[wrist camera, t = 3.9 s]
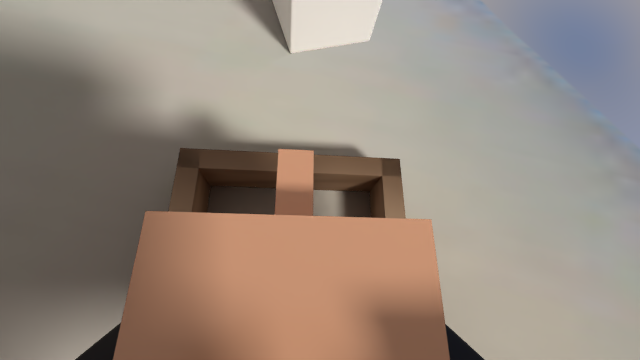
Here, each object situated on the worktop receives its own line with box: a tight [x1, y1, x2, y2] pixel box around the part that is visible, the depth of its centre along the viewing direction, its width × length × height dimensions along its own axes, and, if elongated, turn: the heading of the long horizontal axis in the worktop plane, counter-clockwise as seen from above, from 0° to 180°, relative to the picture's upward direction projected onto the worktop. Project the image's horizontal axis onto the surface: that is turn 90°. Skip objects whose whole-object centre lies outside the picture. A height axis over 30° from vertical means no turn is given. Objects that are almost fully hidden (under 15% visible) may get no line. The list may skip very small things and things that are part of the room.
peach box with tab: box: [113, 149, 450, 360], centre depth 10 cm, size 8×6×10 cm
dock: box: [168, 148, 406, 219], centre depth 14 cm, size 15×11×2 cm
